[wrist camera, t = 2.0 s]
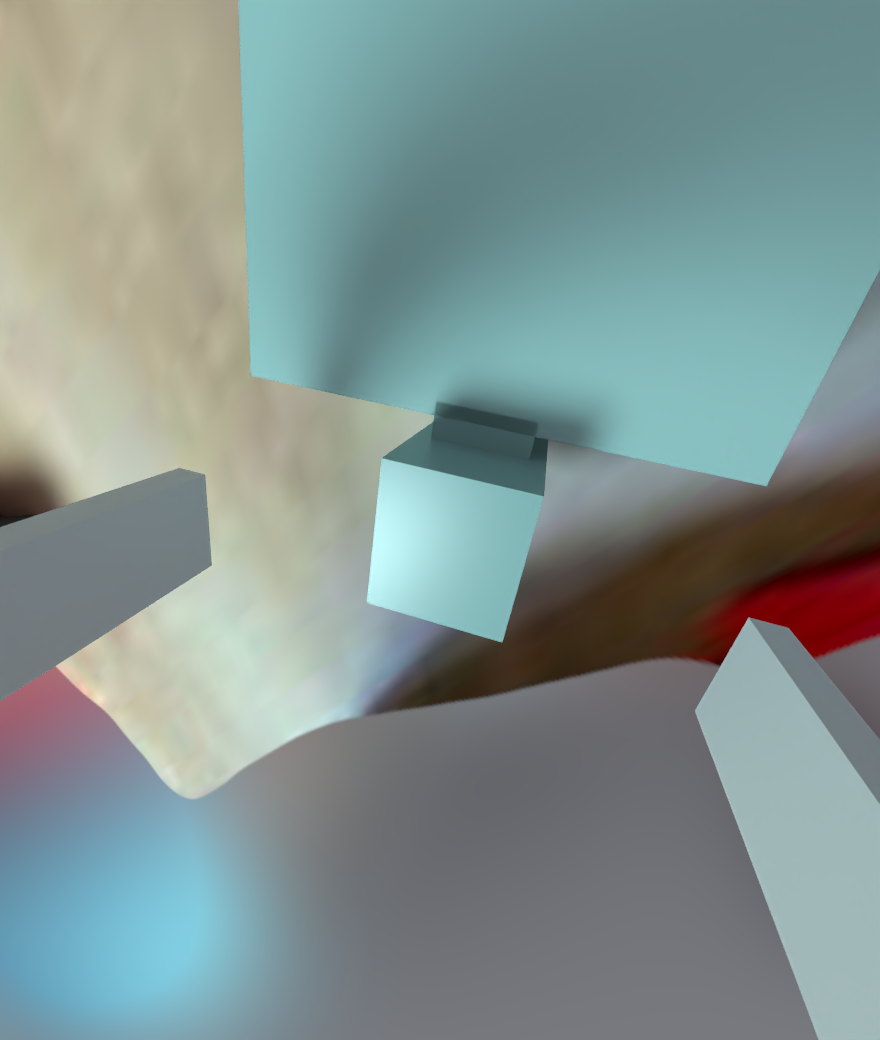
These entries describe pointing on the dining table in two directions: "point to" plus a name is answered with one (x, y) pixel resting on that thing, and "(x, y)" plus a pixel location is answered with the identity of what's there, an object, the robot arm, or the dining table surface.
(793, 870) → the robot arm
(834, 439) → the dining table surface
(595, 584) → the dining table surface
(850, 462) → the dining table surface
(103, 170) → the dining table surface
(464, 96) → the lid
